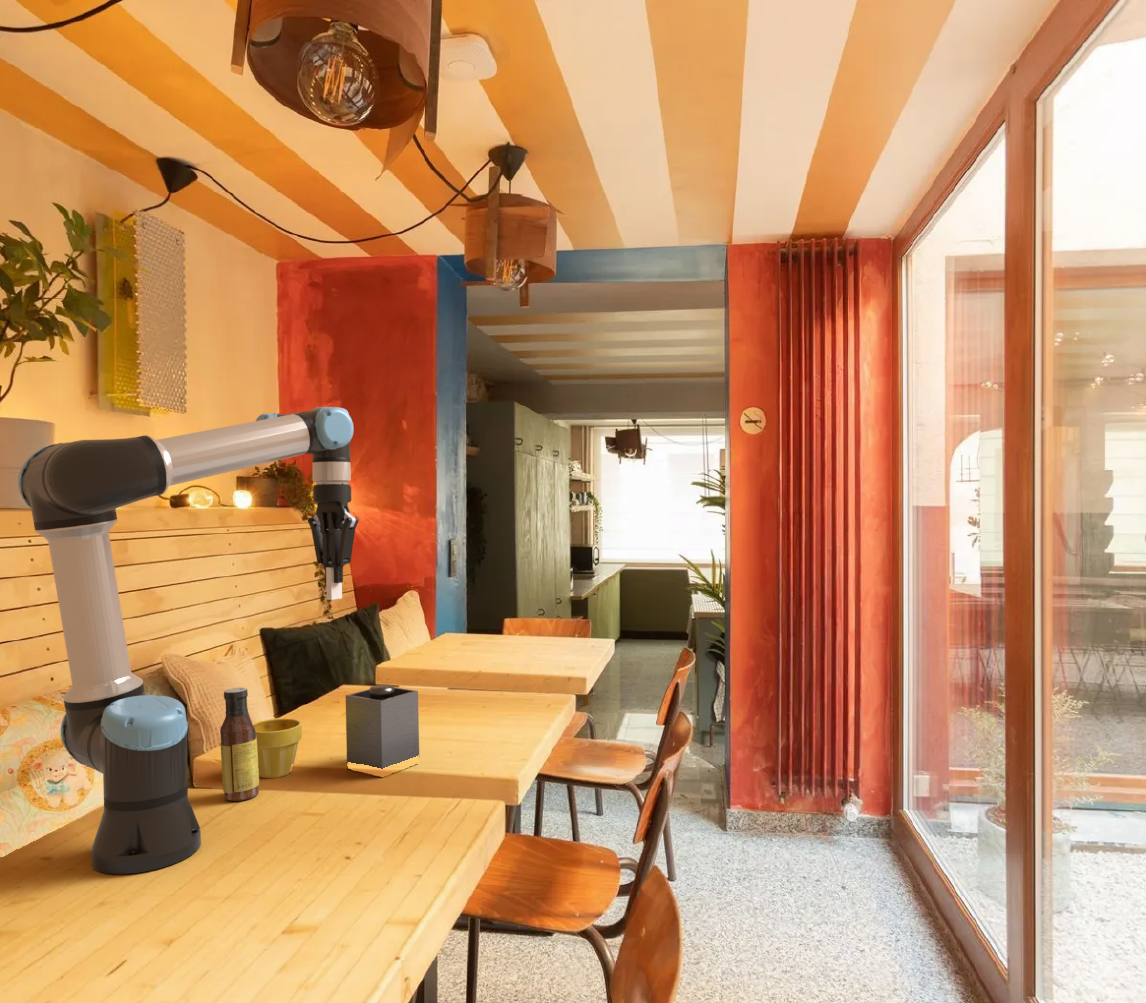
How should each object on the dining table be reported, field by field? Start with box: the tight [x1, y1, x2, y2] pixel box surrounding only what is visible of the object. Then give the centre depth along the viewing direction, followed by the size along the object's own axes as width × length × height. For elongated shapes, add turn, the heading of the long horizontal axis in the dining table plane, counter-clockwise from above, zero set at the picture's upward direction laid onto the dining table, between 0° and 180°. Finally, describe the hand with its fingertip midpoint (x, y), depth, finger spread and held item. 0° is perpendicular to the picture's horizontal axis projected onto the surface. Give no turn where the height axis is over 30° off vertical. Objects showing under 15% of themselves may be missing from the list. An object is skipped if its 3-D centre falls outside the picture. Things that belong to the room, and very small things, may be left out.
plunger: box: [369, 684, 395, 700], centre depth 170 cm, size 8×8×13 cm
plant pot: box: [252, 717, 303, 779], centre depth 167 cm, size 10×10×10 cm
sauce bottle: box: [219, 687, 260, 802], centre depth 154 cm, size 7×6×20 cm
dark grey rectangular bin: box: [345, 686, 420, 769], centre depth 171 cm, size 14×10×15 cm
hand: (334, 598), depth 170 cm, fingers closed
